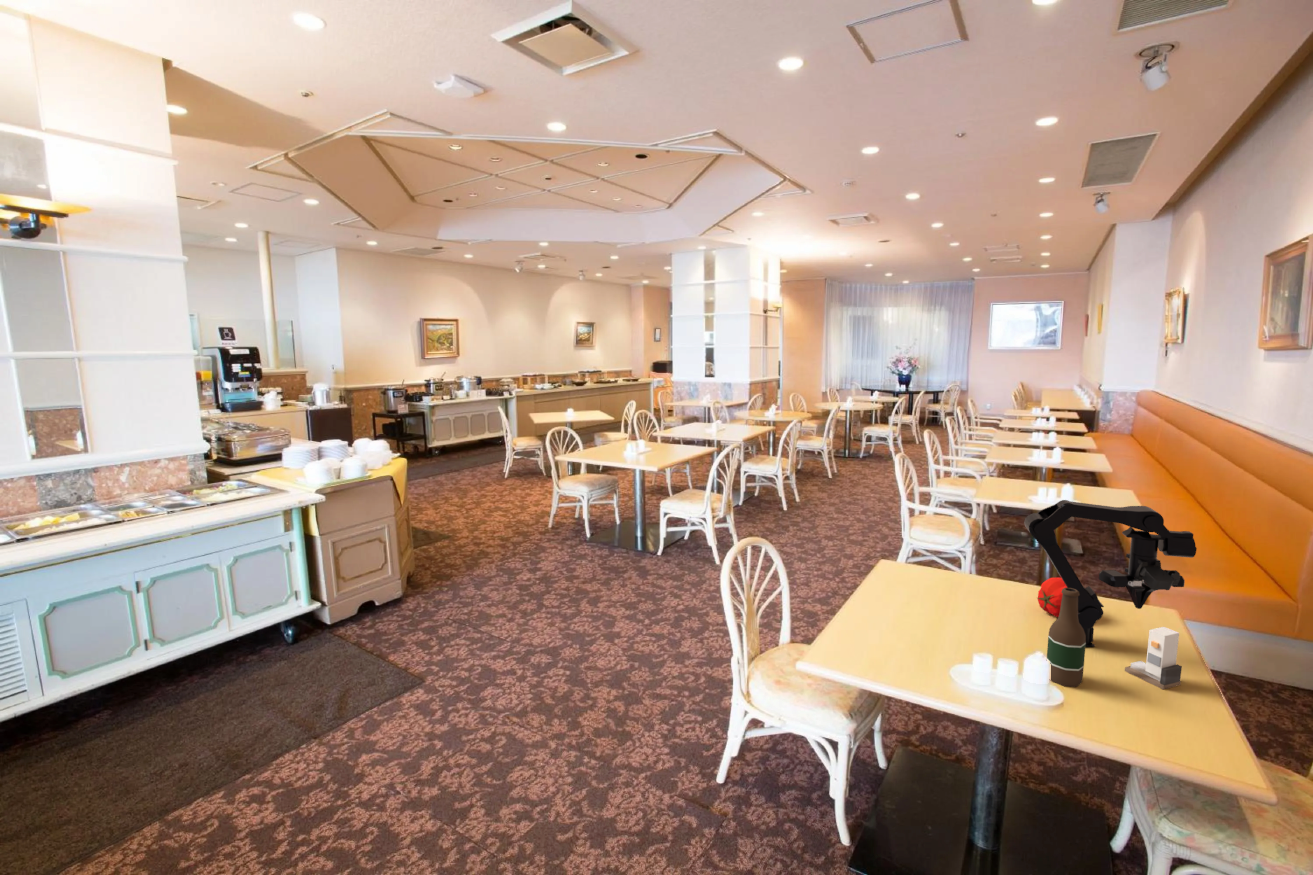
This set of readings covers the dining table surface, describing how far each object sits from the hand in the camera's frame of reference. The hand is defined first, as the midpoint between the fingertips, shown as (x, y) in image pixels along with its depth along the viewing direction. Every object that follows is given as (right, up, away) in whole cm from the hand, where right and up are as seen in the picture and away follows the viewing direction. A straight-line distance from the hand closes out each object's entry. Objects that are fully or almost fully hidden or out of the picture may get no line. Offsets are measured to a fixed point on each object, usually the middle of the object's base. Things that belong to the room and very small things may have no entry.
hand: (1138, 608), depth 166 cm
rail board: (-6, -14, -12) cm, 20 cm away
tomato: (-5, -9, +24) cm, 26 cm away
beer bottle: (-29, -15, -12) cm, 34 cm away
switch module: (-6, -12, -14) cm, 20 cm away
